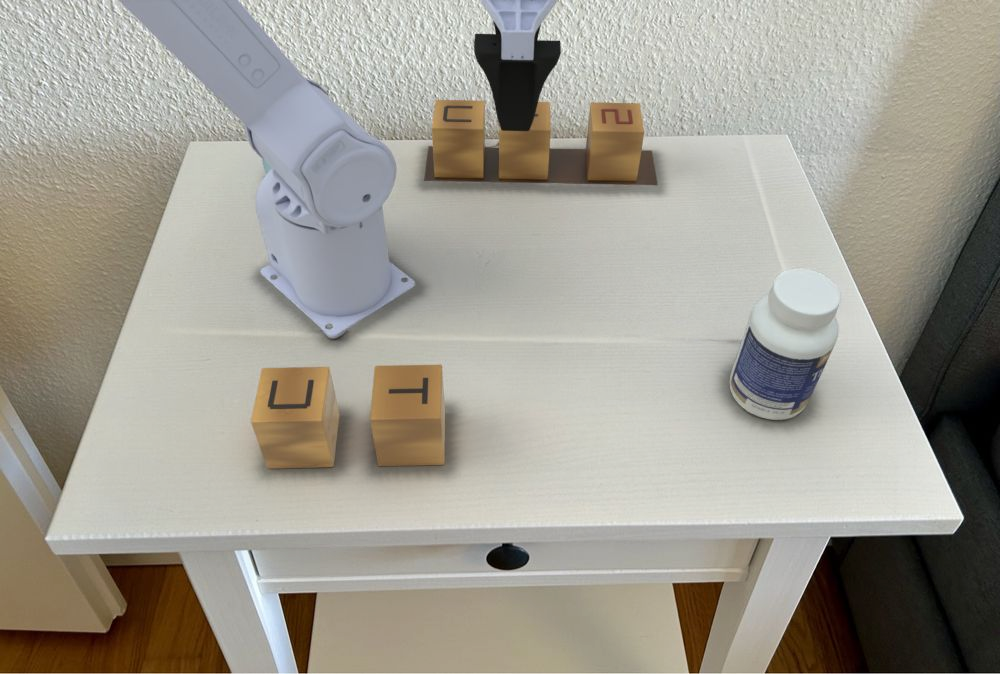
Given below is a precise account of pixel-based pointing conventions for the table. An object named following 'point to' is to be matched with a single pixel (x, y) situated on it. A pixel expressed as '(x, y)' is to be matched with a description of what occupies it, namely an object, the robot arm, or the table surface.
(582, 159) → the word board
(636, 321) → the table surface
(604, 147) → the wooden letter cube
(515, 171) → the board tile
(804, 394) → the pill bottle
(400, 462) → the tile
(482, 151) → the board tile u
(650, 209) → the table surface
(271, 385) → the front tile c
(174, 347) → the table surface
